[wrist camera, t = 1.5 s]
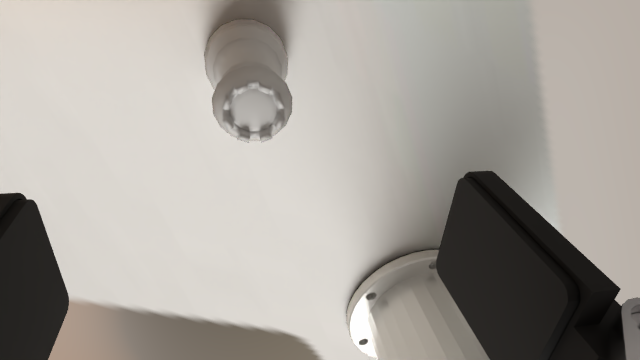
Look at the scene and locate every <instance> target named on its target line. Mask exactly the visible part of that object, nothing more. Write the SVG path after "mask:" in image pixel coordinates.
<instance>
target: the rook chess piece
mask: <svg viewBox="0 0 640 360" xmlns="http://www.w3.org/2000/svg"><path fill="white" fill-rule="evenodd" d="M204 57H205V69H206V75H207V77H208V79H209V81H210V83H211V85H212V87H213V89H214V90H215V91H214V94H213V97H212V105H213V114H214V116H215V118H216V120H217V121H218V123H219V125H220V127H221V128H223V129H224V130H225V131H226V132H227V133H229V134H230V135H231V136H233V137H236V138H237V139H238V140H241V141H244V142H247V143H249V141H261V143H262V142H264V141H267V140H269V139H271V138H272V136H274V135H276V134H277V133H278V132H279V131H280V130H281V129H282V128H283V127H284V126H285V125H286V124H287V121H288V119H289V117H290V115H291V113H292V96H291V93H290V91H289V89H288V86H287V84H286V83H285V82H284V81H285V79H286V76H287V67H288V58H287V53H286V51H285V48H284V45H283V43H282V40H281V38H280V37H279V36H278V35H277V34H276V33H275V32H274V31H273V30H272V29H271V28H270V27H269V26H267V25H265V24H262V23H260V22H258V21H256V20H250V19H236V20H233V21H231V22H228V23H226V24H224V25H221V26H220V27H219V28H218V29H217V30H216V31H215V32H214V34H213V35H212V36H211V37H210V38H209V41H208V44H207V47H206V50H205V53H204Z"/></svg>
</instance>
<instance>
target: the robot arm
mask: <svg viewBox="0 0 640 360" xmlns="http://www.w3.org/2000/svg"><path fill="white" fill-rule="evenodd" d="M619 291H620V288H619V287H618V286H617V285H616V284H614V283H613V282H612V281H611V280H610V279H609V278H608V277H607V276H606V275H605V274H604V273H603V272H602V271H600V270H599V269H598V268H597V267H596V266H595V265H594V264H593V263H592V262H591V261H590V260H588V259H587V258H586V257H585V256H584V255H583V254H582V253H581V252H580V251H579V250H577V248H575V247H574V246H573V245H572V244H571V243H570V242H569V241H568V240H567V239H566V238H565V237H564V236H562V235H561V234H560V233H559V232H558V231H557V230H556V229H555V228H554V227H553V226H552V225H551V224H549V223H548V222H547V221H546V220H545V219H544V218H543V217H542V216H541V215H540V214H539V213H538V212H536V211H535V210H534V209H533V208H532V207H531V206H530V205H529V204H528V203H527V202H526V201H525V200H523V199H522V198H521V197H520V196H519V195H518V194H517V193H516V192H515V191H514V190H513V189H512V188H510V187H509V186H508V185H507V184H506V183H505V182H504V181H503V180H502V179H501V178H500V177H499V176H497V175H496V174H495V173H494V172H492V171H478V172H468V173H466V174H465V176H464V178H461V179H460V180H459V181H458V183H457V186H456V190H455V193H454V197H453V201H452V204H451V208H450V212H449V215H448V219H447V223H446V226H445V230H444V234H443V237H442V241H441V245H440V248H439V250H426V251H421V252H416V253H412V254H409V255H406V256H403V257H400V258H398V259H396V260H394V261H392V262H390V263H388V264H386V265H384V266H383V267H381V268H380V269H378V270H377V271H375V272H374V273H373V274H372V275H371V276H369V277H368V278H367V279H366V280H365V281H364V282H363V283H362V284H361V286H360V287H359V288H358V289H357V291H356V292H355V293H354V295H353V297H352V299H351V301H350V303H349V306H348V310H347V326H348V330H349V334H350V337H351V339H352V341H353V343H354V344H355V345H356V347H357V348H358V349H359V350H360V351H362V352H363V353H365V354H366V355H368V356H371V357H374V358H376V359H378V360H640V298H633V299H628V300H627V301H626V302H625V303H624V304H622V306H620V305H619V304H618V303H617V302H616V301H615V300H614V299H615V297H616V296H617V294H618V292H619ZM68 305H69V297H68V293H67V290H66V287H65V284H64V281H63V278H62V276H61V273H60V270H59V267H58V264H57V261H56V258H55V256H54V253H53V250H52V247H51V244H50V241H49V238H48V235H47V233H46V230H45V227H44V224H43V221H42V218H41V215H40V213H39V210H38V207H37V205H36V203H35V202H34V200H27V199H26V197H25V196H24V195H23V194H21V193H7V194H0V360H48V358H49V355H50V353H51V351H52V348H53V346H54V343H55V341H56V338H57V335H58V333H59V331H60V328H61V326H62V323H63V321H64V318H65V316H66V314H67V310H68Z"/></svg>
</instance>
